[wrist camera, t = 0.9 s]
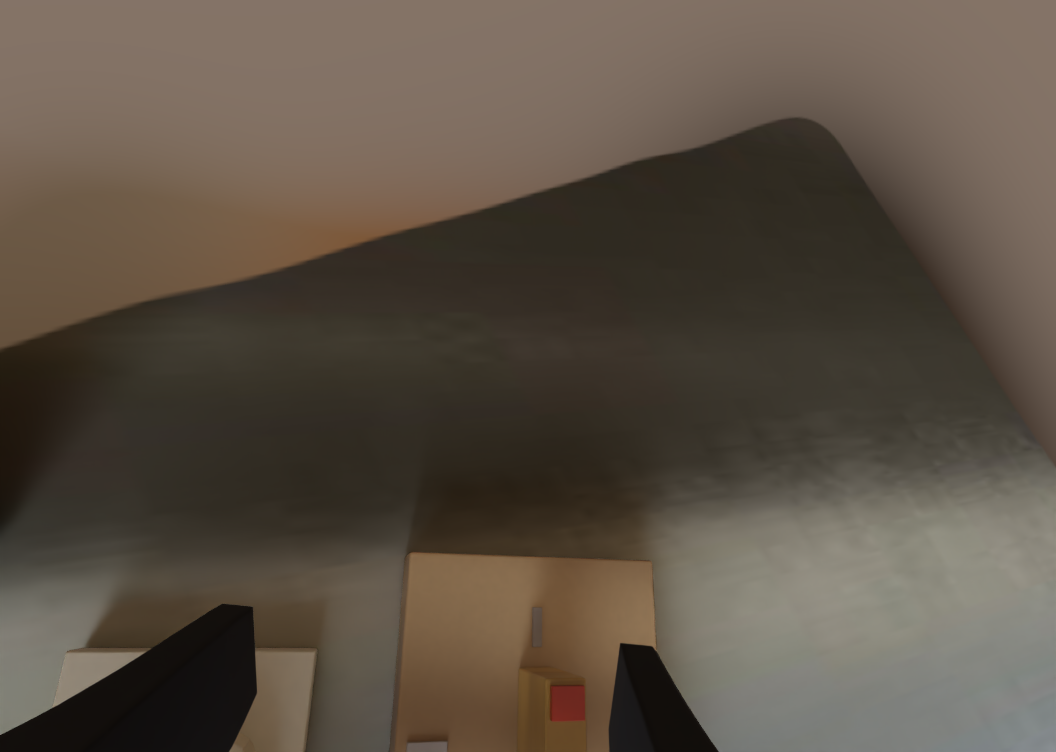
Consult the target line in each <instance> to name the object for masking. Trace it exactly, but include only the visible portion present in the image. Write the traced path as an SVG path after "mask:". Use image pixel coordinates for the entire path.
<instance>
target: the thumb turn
mask: <svg viewBox="0 0 1056 752" xmlns="http://www.w3.org/2000/svg"><path fill="white" fill-rule="evenodd" d="M517 752H587V714H586V679H585V678H584V677H581V676H578V675H575V674H572V673H569V672H566V671H563V670H559V669H556V668H553V667H522V668H519V679H518V730H517Z"/></svg>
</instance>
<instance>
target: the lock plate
mask: <svg viewBox="0 0 1056 752" xmlns="http://www.w3.org/2000/svg"><path fill="white" fill-rule="evenodd" d="M620 643H626V644H636V645H646V646H652V647H653V648H654V649H655V650H656V652H657V649H656V629H655V609H654V589H653V569H652V561H648V560H621V559H593V558H565V557H537V556H510V555H482V554H454V553H426V552H411V553H409V554H408V555H407V556H406V557H405V563H404V575H403V588H402V600H401V612H400V625H399V637H398V649H397V662H396V674H395V686H394V699H393V711H392V723H391V736H390V748H389V752H517V730H518V679H519V668H522V667H553V668H556V669H559V670H563V671H566V672H569V673H572V674H575V675H578V676H581V677H584V678H585V679H586V714H587V752H609V730H608V729H609V721H610V714H611V707H612V699H613V692H614V685H615V677H616V670H617V663H618V655H619V648H620Z"/></svg>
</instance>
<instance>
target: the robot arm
mask: <svg viewBox="0 0 1056 752" xmlns="http://www.w3.org/2000/svg"><path fill="white" fill-rule="evenodd" d="M256 695H257V679H256V659H255V640H254V620H253V607H250V606H240V605H230V604H221V605H220V606H218V607H216V608H214V609H213V610H211V611H209V612H208V613H206V614H205V615H203V616H201V617H200V618H198V619H197V620H195V621H193V622H192V623H190V624H189V625H187V626H186V627H184V628H183V629H181V630H180V631H178V632H176V633H175V634H173V635H172V636H170V637H169V638H167V639H166V640H164V641H163V642H161V643H159V644H158V645H156V646H155V647H153V648H151V649H150V650H148V651H147V652H145V653H144V654H142V655H140V656H139V657H137V658H136V659H134V660H133V661H131V662H129V663H128V664H126V665H125V666H123V667H121V668H120V669H118V670H117V671H115V672H113V673H112V674H110V675H108V676H106V677H105V678H103V679H101V680H100V681H98V682H96V683H95V684H93V685H91V686H89V687H88V688H86V689H84V690H83V691H81V692H79V693H77V694H76V695H74V696H72V697H71V698H69V699H67V700H66V701H64V702H62V703H60V704H59V705H57V706H55V707H53V708H51V709H50V710H48V711H46V712H44V713H42V714H40V715H39V716H37V717H35V718H33V719H31V720H29V721H27V722H25V723H24V724H22V725H20V726H18V727H16V728H14V729H12V730H10V731H8V732H6V733H4V734H2V735H0V752H229V751H230V749H231V748H232V746H233V744H234V742H235V740H236V738H237V736H238V734H239V732H240V730H241V727H242V725H243V723H244V721H245V719H246V717H247V715H248V712H249V710H250V708H251V706H252V704H253V701H254V699H255V697H256ZM608 730H609V752H718V750H717V749H716V747H715V746H714V745H713V743H712V742H711V740H710V739H709V737H708V736H707V734H706V733H705V731H704V730H703V728H702V727H701V725H700V724H699V722H698V721H697V719H696V718H695V716H694V715H693V713H692V711H691V710H690V708H689V707H688V705H687V704H686V702H685V700H684V699H683V697H682V695H681V694H680V692H679V690H678V689H677V687H676V685H675V684H674V682H673V680H672V678H671V677H670V675H669V673H668V672H667V670H666V668H665V666H664V664H663V663H662V661H661V659H660V657H659V655H658V653H657V652H656V650H655V649H654V648H653V647H652V646H646V645H636V644H626V643H620V648H619V655H618V663H617V670H616V677H615V685H614V692H613V699H612V707H611V714H610V721H609V729H608Z"/></svg>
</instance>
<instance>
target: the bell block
mask: <svg viewBox="0 0 1056 752" xmlns="http://www.w3.org/2000/svg"><path fill="white" fill-rule="evenodd" d="M150 649H151V648H81V649H75V650H69V651H67V652H66V654H65V658H64V662H63V666H62V670H61V674H60V678H59V682H58V686H57V690H56V695H55V699H54V703H53V707H55V706H57V705H59V704H60V703H62V702H64V701H66V700H67V699H69V698H71V697H72V696H74V695H76V694H77V693H79V692H81V691H83V690H84V689H86V688H88V687H89V686H91V685H93V684H95V683H96V682H98V681H100V680H101V679H103V678H105V677H106V676H108V675H110V674H112V673H113V672H115V671H117V670H118V669H120V668H121V667H123V666H125V665H126V664H128V663H129V662H131V661H133V660H134V659H136V658H137V657H139V656H140V655H142V654H144V653H145V652H147V651H148V650H150ZM317 652H318V650H317V648H255V659H256V679H257V695H256V697H255V699H254V701H253V704H252V706H251V708H250V710H249V712H248V715H247V717H246V719H245V721H244V723H243V725H242V727H241V730H240V732H239V734H238V736H237V738H236V740H235V742H234V744H233V746H232V748H231V749H230V751H229V752H305V751H306V743H307V735H308V726H309V718H310V710H311V702H312V693H313V685H314V677H315V669H316V660H317ZM53 707H52V708H53Z"/></svg>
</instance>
